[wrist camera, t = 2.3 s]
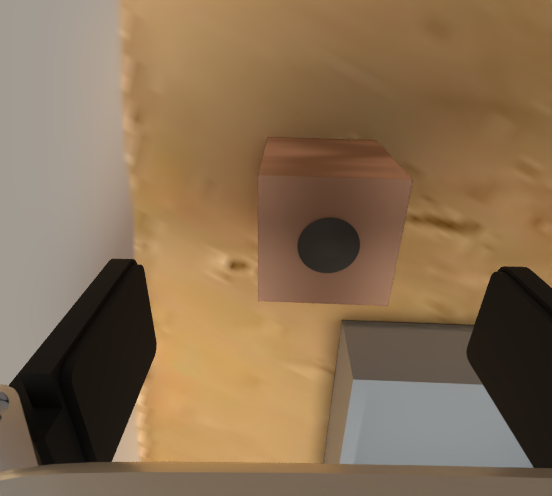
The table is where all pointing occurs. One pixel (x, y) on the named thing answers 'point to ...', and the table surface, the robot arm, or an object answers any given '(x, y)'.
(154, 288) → the table surface
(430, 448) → the tray
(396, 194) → the bored block
